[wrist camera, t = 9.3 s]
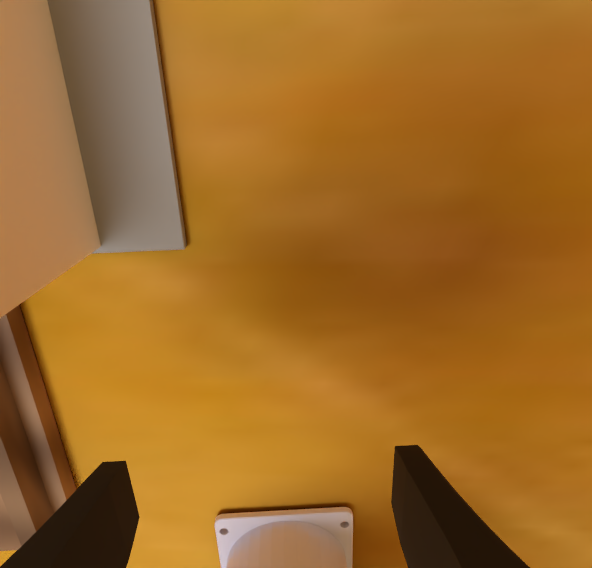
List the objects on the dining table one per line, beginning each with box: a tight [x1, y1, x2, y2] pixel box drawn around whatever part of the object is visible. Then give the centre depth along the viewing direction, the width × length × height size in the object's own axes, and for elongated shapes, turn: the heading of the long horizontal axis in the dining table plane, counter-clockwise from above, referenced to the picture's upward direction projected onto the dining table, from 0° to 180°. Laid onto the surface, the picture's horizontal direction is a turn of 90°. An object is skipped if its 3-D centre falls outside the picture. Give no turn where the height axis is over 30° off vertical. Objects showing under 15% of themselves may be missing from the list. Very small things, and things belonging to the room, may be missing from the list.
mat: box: [47, 0, 187, 253], centre depth 16 cm, size 11×10×1 cm
